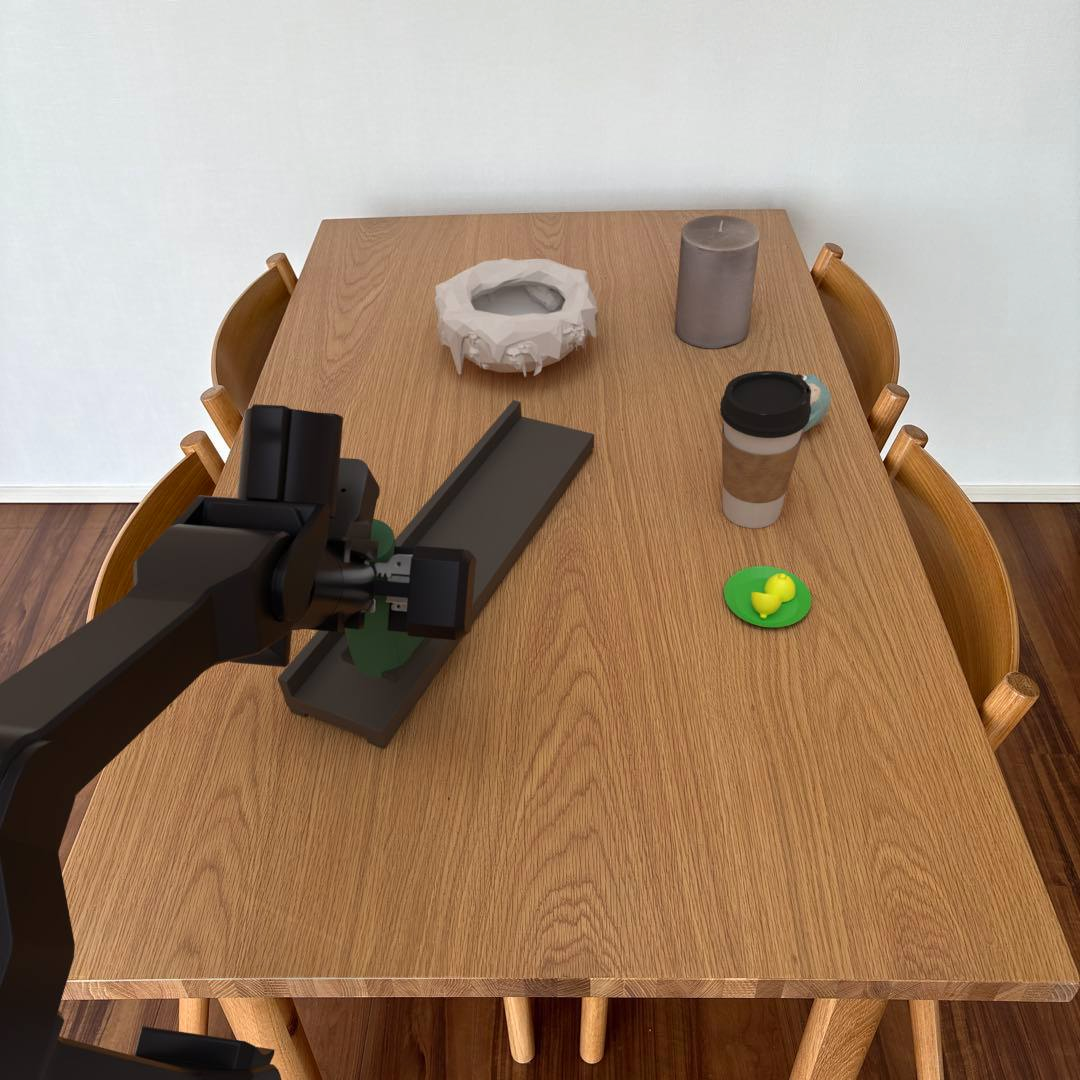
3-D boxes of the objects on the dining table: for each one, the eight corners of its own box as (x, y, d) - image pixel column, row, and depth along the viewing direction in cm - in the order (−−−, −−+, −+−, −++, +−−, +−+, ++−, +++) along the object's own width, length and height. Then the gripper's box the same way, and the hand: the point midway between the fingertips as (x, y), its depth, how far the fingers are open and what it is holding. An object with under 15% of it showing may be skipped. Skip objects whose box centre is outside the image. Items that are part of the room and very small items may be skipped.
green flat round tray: (805, 639, 86) (809, 618, 84) (716, 622, 88) (719, 601, 86) (814, 579, 92) (819, 557, 90) (731, 564, 94) (733, 543, 92)
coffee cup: (794, 540, 96) (816, 417, 86) (708, 533, 97) (721, 412, 87) (791, 487, 102) (812, 366, 92) (711, 481, 103) (723, 362, 93)
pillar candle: (686, 307, 131) (693, 200, 121) (756, 318, 128) (770, 210, 118) (665, 342, 125) (670, 232, 114) (738, 355, 122) (751, 244, 111)
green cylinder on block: (392, 687, 76) (367, 574, 67) (338, 664, 78) (307, 551, 69) (465, 599, 83) (450, 487, 74) (414, 580, 85) (393, 468, 76)
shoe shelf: (386, 750, 79) (377, 717, 76) (288, 711, 83) (276, 678, 80) (594, 451, 108) (594, 419, 105) (515, 431, 112) (513, 399, 109)
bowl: (477, 306, 134) (471, 238, 127) (618, 327, 128) (619, 257, 121) (412, 386, 120) (401, 314, 113) (567, 413, 114) (565, 340, 107)
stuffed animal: (717, 355, 112) (823, 340, 109) (724, 406, 116) (826, 392, 114) (720, 408, 104) (835, 393, 101) (727, 460, 108) (837, 447, 106)
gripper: (456, 464, 58) (502, 490, 74) (171, 446, 61) (273, 475, 77) (440, 646, 58) (490, 634, 73) (154, 620, 61) (260, 614, 76)
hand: (376, 585), depth 75 cm, fingers closed on green cylinder on block, 5 cm apart
